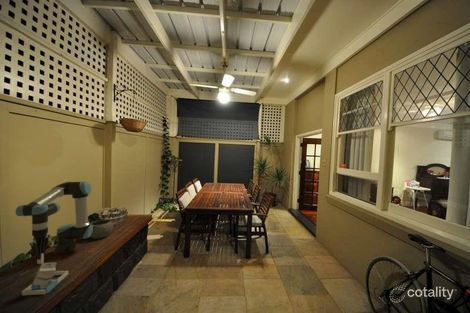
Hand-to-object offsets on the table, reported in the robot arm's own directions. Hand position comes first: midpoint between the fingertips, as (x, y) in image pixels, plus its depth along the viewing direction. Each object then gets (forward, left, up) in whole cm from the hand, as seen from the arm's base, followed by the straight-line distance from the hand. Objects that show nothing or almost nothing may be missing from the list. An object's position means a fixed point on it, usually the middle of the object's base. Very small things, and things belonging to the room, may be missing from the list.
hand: (40, 263), depth 130 cm
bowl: (-81, -6, -18) cm, 83 cm away
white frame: (-5, 0, -18) cm, 19 cm away
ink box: (+1, 0, -17) cm, 17 cm away
